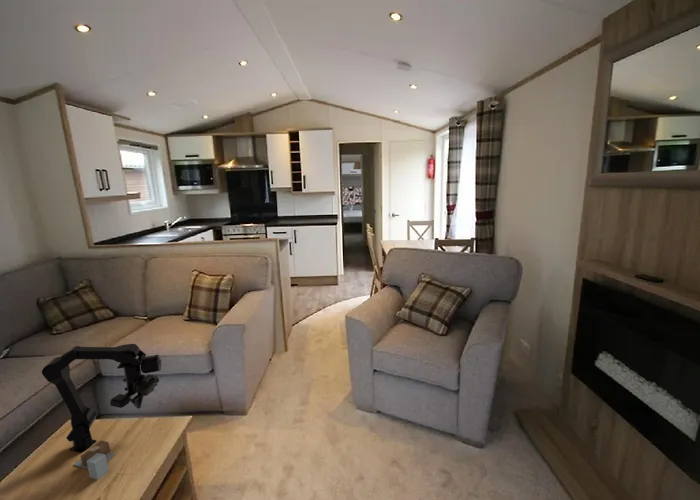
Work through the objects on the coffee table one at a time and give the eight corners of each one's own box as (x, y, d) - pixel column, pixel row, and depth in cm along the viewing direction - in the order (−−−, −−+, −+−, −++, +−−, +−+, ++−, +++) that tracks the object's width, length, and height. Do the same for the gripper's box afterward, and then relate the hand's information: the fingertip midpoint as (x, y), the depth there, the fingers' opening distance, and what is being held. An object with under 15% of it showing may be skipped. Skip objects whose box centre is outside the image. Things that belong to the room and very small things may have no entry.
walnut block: (102, 448, 136) (82, 464, 128) (100, 440, 135) (80, 455, 127) (110, 450, 135) (90, 466, 127) (108, 442, 134) (88, 457, 126)
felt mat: (73, 465, 129) (73, 464, 129) (94, 449, 136) (93, 448, 136) (95, 471, 126) (95, 470, 126) (115, 454, 133) (115, 454, 133)
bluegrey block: (89, 477, 123) (86, 461, 122) (100, 468, 127) (97, 452, 126) (98, 479, 122) (94, 463, 121) (108, 470, 126) (105, 454, 124)
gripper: (128, 391, 128) (134, 426, 131) (166, 365, 146) (171, 397, 149) (106, 386, 131) (112, 421, 134) (146, 362, 149) (151, 393, 152)
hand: (138, 408), depth 142 cm, fingers closed
